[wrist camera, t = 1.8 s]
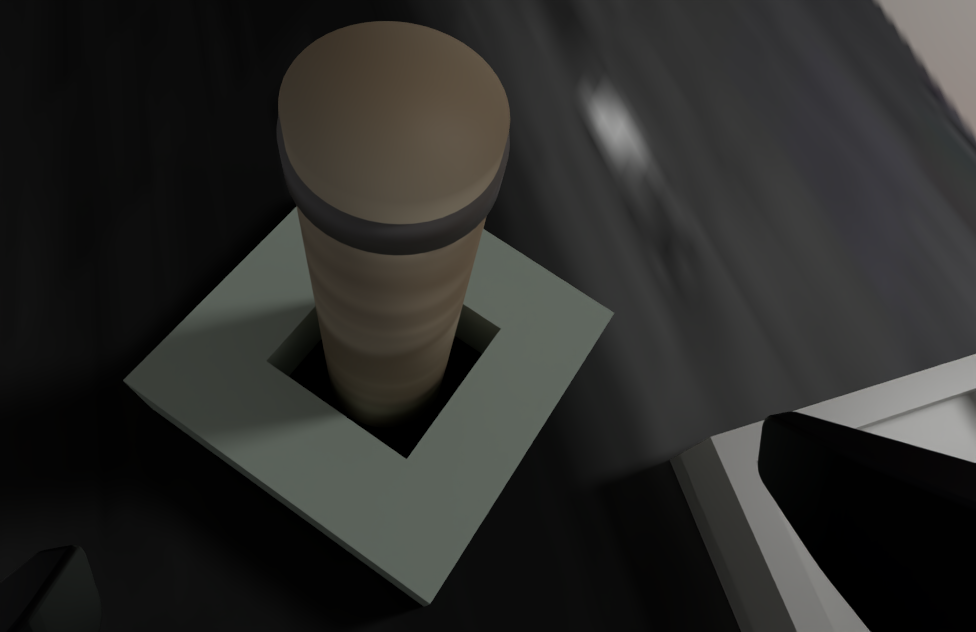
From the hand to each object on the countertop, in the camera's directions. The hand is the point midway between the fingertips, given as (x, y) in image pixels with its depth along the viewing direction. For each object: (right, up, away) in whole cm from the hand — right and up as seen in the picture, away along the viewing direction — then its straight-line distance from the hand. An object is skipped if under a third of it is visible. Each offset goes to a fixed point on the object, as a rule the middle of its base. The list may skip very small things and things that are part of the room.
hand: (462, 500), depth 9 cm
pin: (-3, +1, +13) cm, 13 cm away
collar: (-3, +1, +13) cm, 13 cm away
